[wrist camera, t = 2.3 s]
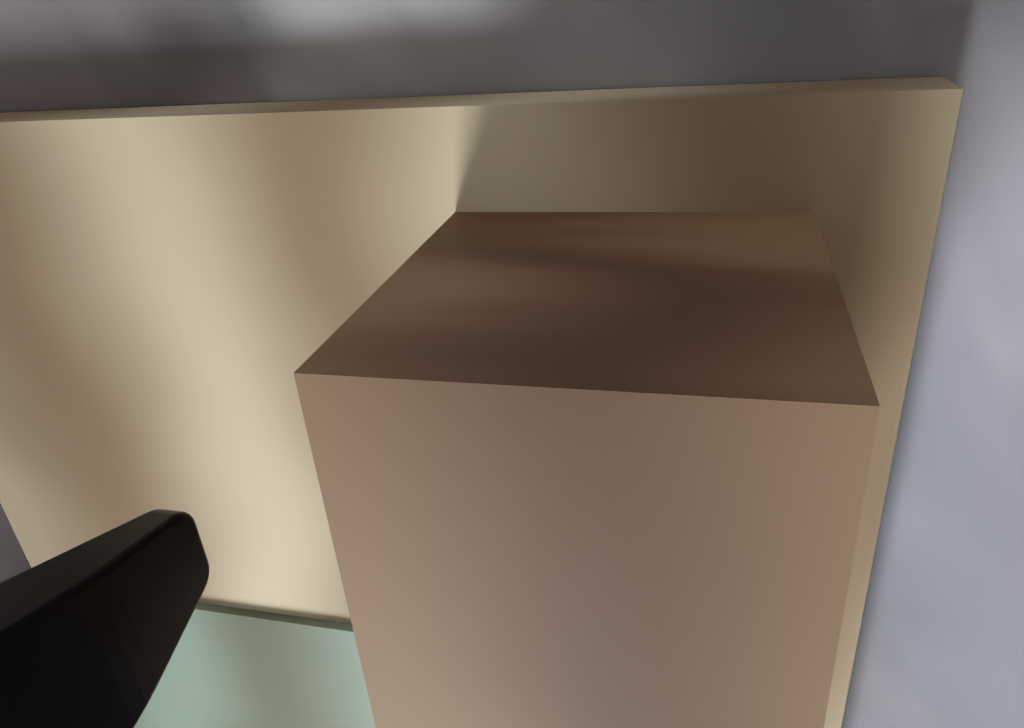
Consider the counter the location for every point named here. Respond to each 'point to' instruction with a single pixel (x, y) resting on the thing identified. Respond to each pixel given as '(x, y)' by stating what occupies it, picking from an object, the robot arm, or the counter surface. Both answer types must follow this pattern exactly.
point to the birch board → (345, 287)
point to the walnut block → (597, 471)
